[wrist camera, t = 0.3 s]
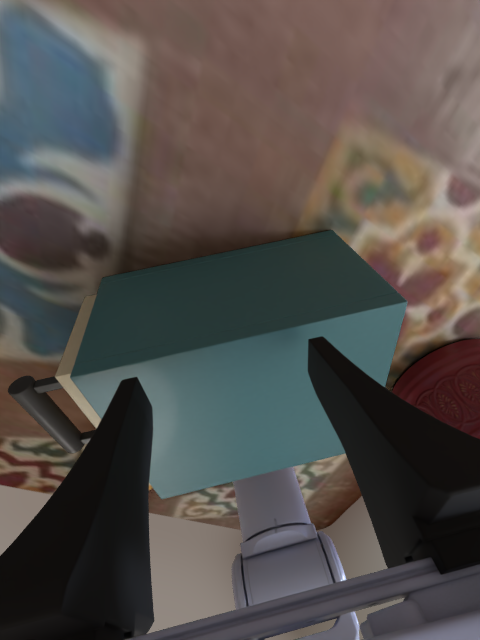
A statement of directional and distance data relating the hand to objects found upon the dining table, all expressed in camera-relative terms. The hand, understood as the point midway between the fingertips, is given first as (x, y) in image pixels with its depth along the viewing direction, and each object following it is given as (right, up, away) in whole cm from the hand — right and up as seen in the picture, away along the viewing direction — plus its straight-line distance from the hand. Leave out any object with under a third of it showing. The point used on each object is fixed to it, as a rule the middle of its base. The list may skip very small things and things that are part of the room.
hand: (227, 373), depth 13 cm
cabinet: (0, +2, +12) cm, 12 cm away
